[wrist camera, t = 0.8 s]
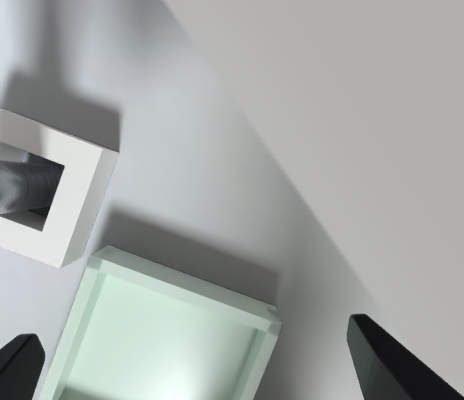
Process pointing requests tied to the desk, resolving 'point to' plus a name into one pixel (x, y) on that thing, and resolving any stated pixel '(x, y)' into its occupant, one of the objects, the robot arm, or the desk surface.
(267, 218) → the desk surface
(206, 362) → the tray
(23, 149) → the socket block
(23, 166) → the pin
